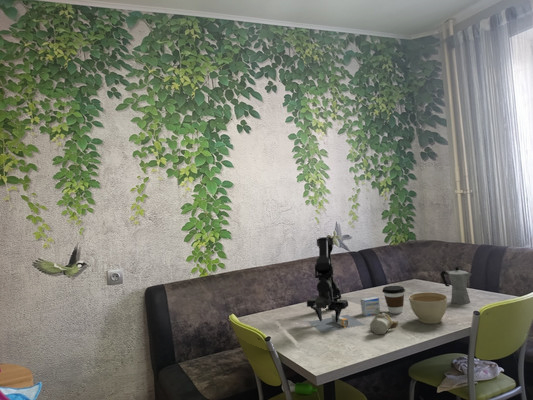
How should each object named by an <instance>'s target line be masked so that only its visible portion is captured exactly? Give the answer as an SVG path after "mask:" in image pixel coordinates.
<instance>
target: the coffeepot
mask: <svg viewBox="0 0 533 400" xmlns="http://www.w3.org/2000/svg"><path fill="white" fill-rule="evenodd" d="M439 274H440V277H441V279H442V281H443V284H444V286H445V287H450V285H451V298H450V299H451V303H453V304H457V305H464V304H470V303H471V299H470V297H469V296H470V295H469V292H468V289H467V286H468V280H469V279H470V277H471V275H472V273H470V272H467V271H466V270H461V269H459V266H455V270H442V271H441V272H440V273H439ZM445 275H446V276H447V275H448V277H449V281H450V284H448V282H447V279H446V277H445Z"/></svg>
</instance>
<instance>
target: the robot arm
mask: <svg viewBox="0 0 533 400" xmlns="http://www.w3.org/2000/svg"><path fill="white" fill-rule="evenodd" d="M334 240H335V239H334V238H333V237H331V236H326V237H325V236H324V237H319V238H317V239H316V246H317V247H318V249H319V251H318V253H319V255H318V258H316V263H315V264H314V278H315V279H318V282H317V285H316V290H317V292H318V296H317V297H315V298H314V297H311V298H309V299H307V300H306V307H307V308H310V309H312V310H313V311H314V312H315V313H316V316H317V318H318V320H320V321H322V318H323V314H322V309H325V311H328V312H329V311H334V312H335V313H334V314H335V317H336V323H337V322H338V319H339V316H341V313H342V310H345V309H347V307H349V301H348V300H347V299H342V292H341V290H340V287H338V282H336V281H335V279H334V265H333V263H332V261H333V260H332V254H331V253H332V251H333V249H334V245H335V243H334V242H335V241H334Z"/></svg>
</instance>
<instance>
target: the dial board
mask: <svg viewBox="0 0 533 400" xmlns="http://www.w3.org/2000/svg"><path fill="white" fill-rule="evenodd" d="M340 316H341V317H343V318H346V319H348V326H345V327H344V326H342V325H340V324H338V323H335V322H332V317H327V318H323V319H322V321H320V320H319V319H317V320H311V321H308V324H310V325H311V326H312V327H314V328H315V329H316V330H317V331H319V332H320V333H321V334H325V333H330V332H333V331H340V330H344V329H349V328H354V327H359V326H365V323H364V322H362V321H359V320H358V319H356V318H355V317H353V316H350V315H349V314H344V315H340Z"/></svg>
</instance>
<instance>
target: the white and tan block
mask: <svg viewBox="0 0 533 400" xmlns="http://www.w3.org/2000/svg"><path fill="white" fill-rule="evenodd" d="M341 316H342V315H340V316H339V319H338V322H337V323H338V324H340V325H342V326H344V327H345V326H348V319H346V318H343V317H341ZM331 318H332V322H335V323H336V317H335V313H332V314H331Z"/></svg>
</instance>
